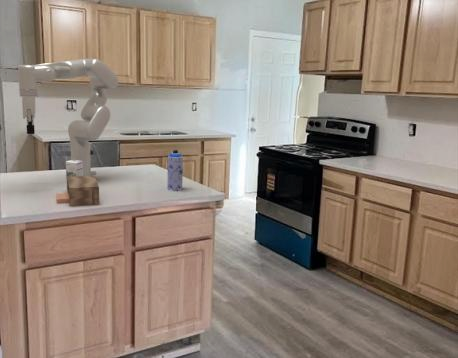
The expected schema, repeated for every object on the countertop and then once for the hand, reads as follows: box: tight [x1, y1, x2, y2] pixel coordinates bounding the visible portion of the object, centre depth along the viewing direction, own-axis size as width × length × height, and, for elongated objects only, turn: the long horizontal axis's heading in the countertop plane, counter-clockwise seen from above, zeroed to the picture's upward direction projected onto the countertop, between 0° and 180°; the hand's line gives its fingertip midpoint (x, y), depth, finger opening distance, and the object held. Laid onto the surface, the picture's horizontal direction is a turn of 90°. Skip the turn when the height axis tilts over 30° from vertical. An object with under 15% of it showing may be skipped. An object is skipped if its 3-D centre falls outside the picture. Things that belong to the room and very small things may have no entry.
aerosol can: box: [166, 149, 184, 192], centre depth 223 cm, size 8×8×20 cm
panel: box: [55, 192, 70, 205], centre depth 198 cm, size 14×10×2 cm
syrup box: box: [65, 159, 83, 192], centre depth 212 cm, size 6×6×14 cm
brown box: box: [66, 175, 100, 207], centre depth 199 cm, size 12×22×8 cm, turn 22°
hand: (30, 133), depth 204 cm, fingers closed
